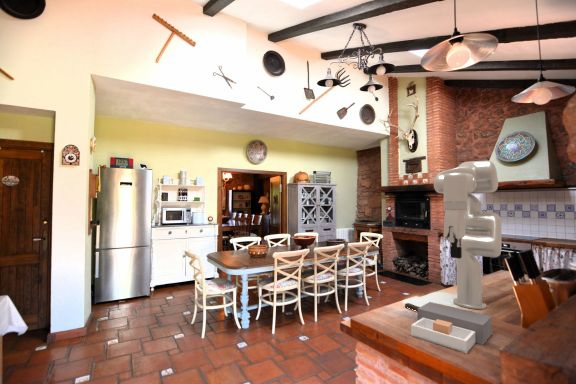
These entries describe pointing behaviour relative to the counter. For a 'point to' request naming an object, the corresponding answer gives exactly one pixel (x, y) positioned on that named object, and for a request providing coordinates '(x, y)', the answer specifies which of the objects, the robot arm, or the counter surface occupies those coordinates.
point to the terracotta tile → (442, 326)
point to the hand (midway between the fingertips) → (456, 257)
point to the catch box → (444, 335)
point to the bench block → (459, 319)
